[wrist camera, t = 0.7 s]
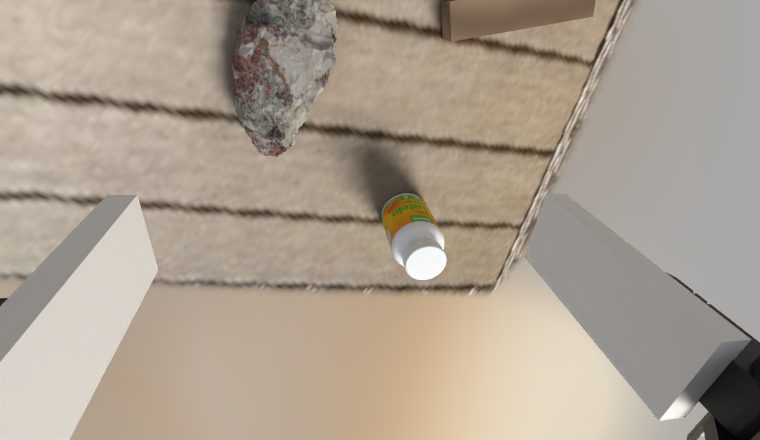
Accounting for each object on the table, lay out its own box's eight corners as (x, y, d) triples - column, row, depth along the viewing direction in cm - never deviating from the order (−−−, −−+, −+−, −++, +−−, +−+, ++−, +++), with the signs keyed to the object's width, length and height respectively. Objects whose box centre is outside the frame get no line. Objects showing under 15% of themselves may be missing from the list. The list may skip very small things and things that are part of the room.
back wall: (440, 1, 33) (449, 1, 31) (580, -23, 34) (598, -24, 31) (442, 38, 34) (451, 41, 32) (575, 15, 35) (592, 16, 33)
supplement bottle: (423, 186, 42) (451, 233, 34) (428, 225, 45) (456, 277, 36) (376, 198, 42) (393, 248, 33) (385, 237, 44) (403, 292, 36)
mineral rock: (279, -55, 29) (275, -62, 25) (364, 11, 32) (372, 13, 29) (204, 108, 34) (191, 122, 30) (284, 151, 37) (281, 168, 34)
